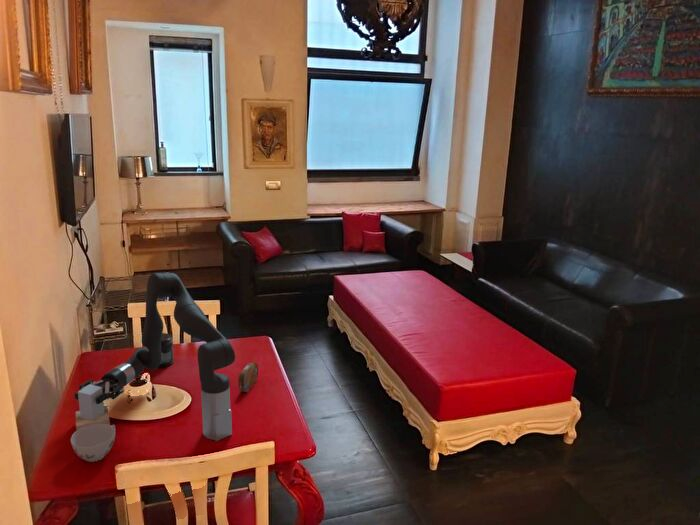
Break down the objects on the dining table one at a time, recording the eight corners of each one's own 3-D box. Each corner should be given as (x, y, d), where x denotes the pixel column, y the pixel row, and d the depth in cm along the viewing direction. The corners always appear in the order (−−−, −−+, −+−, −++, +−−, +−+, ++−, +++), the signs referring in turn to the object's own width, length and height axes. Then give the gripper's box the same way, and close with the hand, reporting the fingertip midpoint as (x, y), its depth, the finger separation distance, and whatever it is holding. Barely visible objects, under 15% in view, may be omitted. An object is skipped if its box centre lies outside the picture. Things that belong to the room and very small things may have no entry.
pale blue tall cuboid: (104, 413, 184) (102, 387, 181) (93, 421, 179) (90, 394, 176) (91, 409, 185) (89, 384, 182) (80, 418, 180) (77, 391, 177)
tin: (244, 396, 207) (244, 376, 205) (237, 394, 208) (236, 375, 205) (258, 378, 221) (258, 359, 219) (251, 377, 222) (251, 358, 220)
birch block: (110, 432, 181) (109, 419, 180) (77, 439, 177) (76, 426, 176) (108, 417, 190) (107, 405, 189) (77, 424, 186) (75, 411, 184)
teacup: (93, 473, 161) (91, 450, 158) (63, 462, 165) (60, 439, 163) (131, 446, 174) (129, 424, 172) (102, 436, 179) (100, 415, 176)
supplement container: (165, 355, 238) (164, 330, 235) (178, 363, 232) (177, 337, 228) (143, 363, 230) (141, 337, 227) (156, 371, 224) (154, 344, 221)
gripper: (101, 364, 194) (67, 385, 179) (135, 371, 191) (103, 392, 176) (103, 383, 196) (69, 405, 181) (136, 390, 193) (105, 413, 178)
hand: (86, 399), depth 178 cm, fingers open, 8 cm apart
